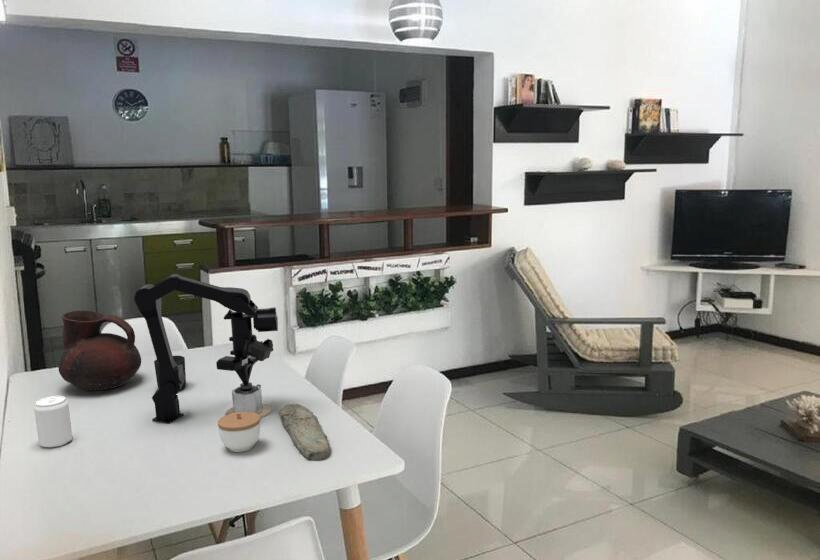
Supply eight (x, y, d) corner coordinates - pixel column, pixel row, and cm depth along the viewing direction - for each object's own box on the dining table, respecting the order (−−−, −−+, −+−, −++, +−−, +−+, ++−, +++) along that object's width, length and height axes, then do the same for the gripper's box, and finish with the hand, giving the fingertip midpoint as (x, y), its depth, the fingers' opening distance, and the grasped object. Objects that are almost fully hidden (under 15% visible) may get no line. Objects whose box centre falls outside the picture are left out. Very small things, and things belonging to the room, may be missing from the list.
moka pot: (254, 423, 194) (252, 399, 192) (216, 418, 198) (214, 395, 197) (279, 406, 206) (277, 384, 204) (242, 402, 210) (240, 380, 209)
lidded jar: (218, 442, 182) (215, 409, 180) (258, 435, 185) (256, 403, 184) (222, 459, 172) (219, 424, 170) (265, 451, 176) (262, 417, 174)
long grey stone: (299, 470, 168) (338, 464, 172) (299, 450, 167) (339, 445, 171) (272, 413, 200) (306, 409, 203) (272, 396, 199) (306, 393, 202)
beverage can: (35, 450, 180) (29, 407, 177) (43, 438, 187) (37, 397, 185) (69, 446, 182) (64, 403, 179) (75, 434, 189) (70, 393, 187)
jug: (117, 400, 215) (108, 323, 210) (44, 397, 219) (34, 322, 214) (157, 374, 239) (150, 304, 235) (92, 372, 243) (83, 304, 239)
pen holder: (162, 384, 228) (159, 356, 227) (190, 383, 229) (188, 355, 227) (153, 394, 219) (150, 364, 217) (182, 393, 220) (179, 363, 218)
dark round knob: (250, 406, 198) (248, 388, 197) (234, 404, 200) (232, 386, 199) (260, 400, 203) (259, 382, 202) (244, 398, 205) (243, 380, 204)
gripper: (247, 343, 186) (251, 398, 189) (283, 326, 203) (286, 376, 206) (213, 340, 190) (217, 394, 193) (251, 324, 207) (254, 373, 210)
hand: (245, 384), depth 200 cm, fingers closed, pressing on dark round knob
